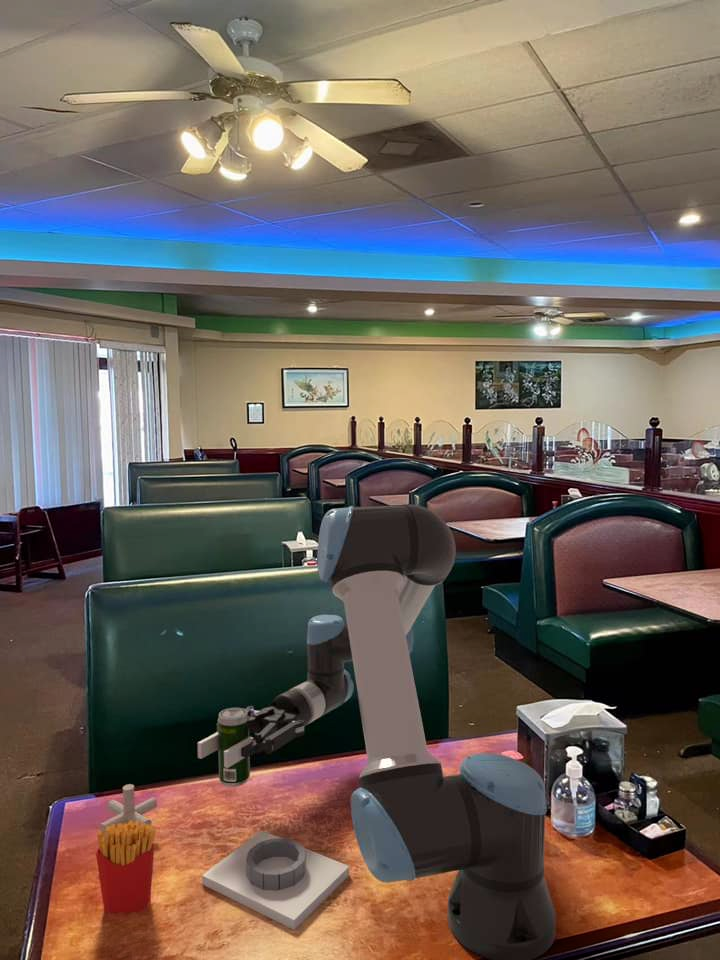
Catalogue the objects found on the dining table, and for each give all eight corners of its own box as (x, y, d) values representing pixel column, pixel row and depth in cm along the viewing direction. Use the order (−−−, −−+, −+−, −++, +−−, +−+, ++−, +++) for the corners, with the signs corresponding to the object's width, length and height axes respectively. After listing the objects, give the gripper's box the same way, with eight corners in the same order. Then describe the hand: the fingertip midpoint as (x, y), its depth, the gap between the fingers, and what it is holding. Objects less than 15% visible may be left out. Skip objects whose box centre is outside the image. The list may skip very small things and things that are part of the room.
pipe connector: (121, 870, 112) (119, 810, 111) (86, 847, 118) (84, 790, 117) (172, 839, 120) (171, 784, 119) (137, 819, 126) (135, 766, 125)
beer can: (248, 787, 120) (246, 719, 119) (216, 788, 120) (215, 720, 119) (251, 771, 126) (250, 706, 125) (221, 772, 125) (220, 707, 125)
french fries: (95, 914, 102) (92, 836, 101) (104, 896, 106) (101, 820, 105) (154, 912, 102) (152, 834, 101) (161, 894, 106) (158, 818, 105)
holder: (349, 875, 111) (349, 851, 110) (294, 930, 99) (294, 903, 98) (261, 838, 120) (261, 816, 120) (202, 884, 108) (201, 860, 108)
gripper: (335, 737, 133) (254, 791, 113) (261, 716, 143) (174, 762, 123) (335, 698, 132) (253, 746, 113) (261, 680, 142) (173, 721, 123)
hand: (212, 755), depth 118 cm, fingers closed on beer can, 5 cm apart
